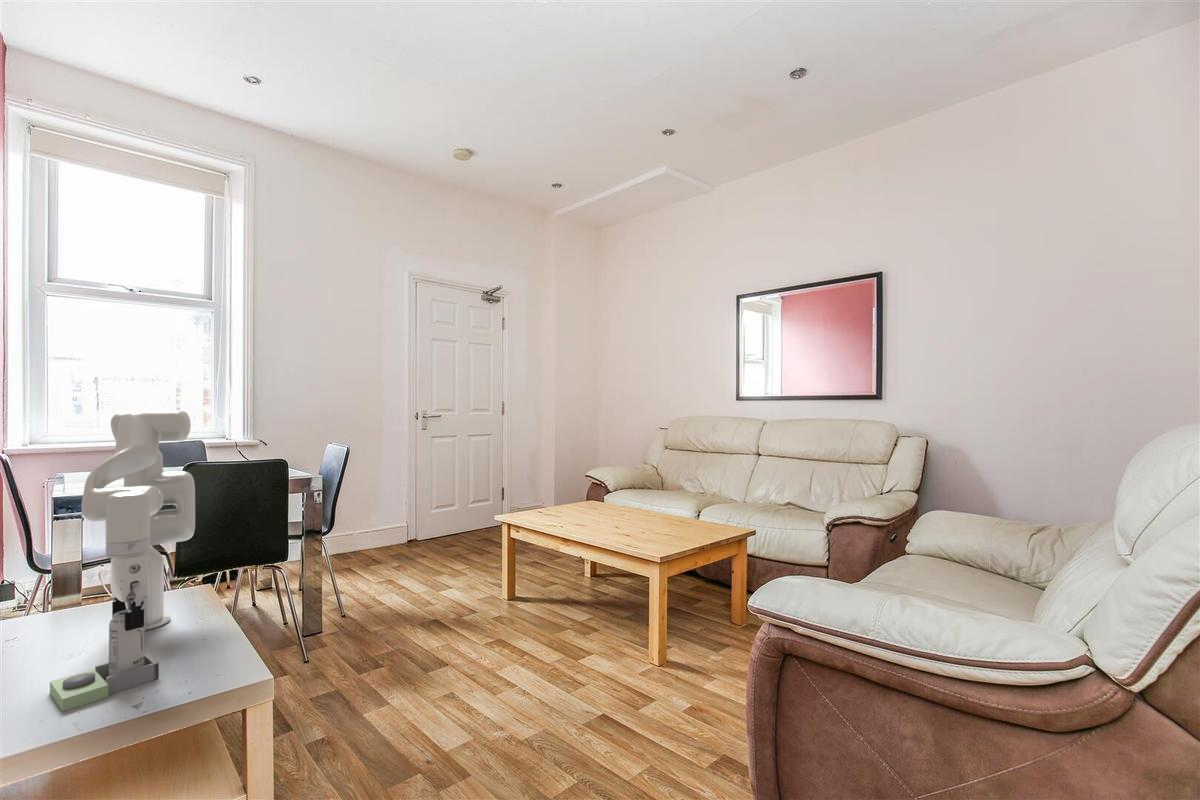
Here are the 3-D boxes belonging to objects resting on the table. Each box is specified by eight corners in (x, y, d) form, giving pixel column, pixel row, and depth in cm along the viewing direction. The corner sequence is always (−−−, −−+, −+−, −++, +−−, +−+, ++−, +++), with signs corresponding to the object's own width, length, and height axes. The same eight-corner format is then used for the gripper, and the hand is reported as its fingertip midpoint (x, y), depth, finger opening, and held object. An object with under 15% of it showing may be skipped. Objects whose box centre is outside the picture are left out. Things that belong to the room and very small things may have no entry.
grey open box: (49, 693, 116) (50, 676, 116) (143, 665, 129) (143, 650, 129) (62, 711, 109) (62, 694, 109) (160, 679, 122) (160, 664, 122)
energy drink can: (142, 681, 121) (142, 613, 122) (106, 689, 118) (106, 619, 118) (146, 670, 126) (146, 605, 127) (111, 678, 123) (111, 611, 123)
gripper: (161, 550, 120) (161, 627, 121) (137, 537, 131) (137, 608, 131) (117, 558, 114) (116, 639, 115) (95, 543, 125) (95, 618, 125)
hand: (127, 622), depth 123 cm, fingers open, 9 cm apart
